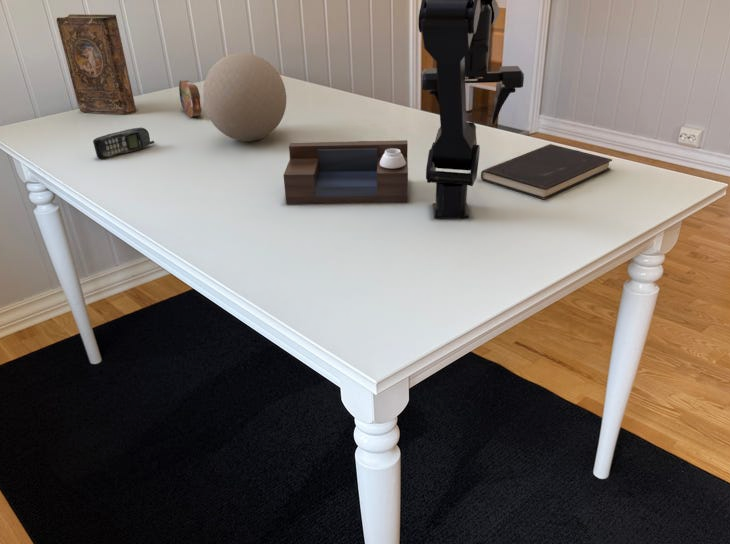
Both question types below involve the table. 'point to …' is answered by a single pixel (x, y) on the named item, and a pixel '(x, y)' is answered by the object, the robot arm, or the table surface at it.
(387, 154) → the lidless jar
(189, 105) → the tin
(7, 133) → the table surface
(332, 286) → the table surface
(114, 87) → the book
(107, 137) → the mobile phone
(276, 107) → the decorative sphere
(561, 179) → the hardcover book
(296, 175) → the toy sofa
